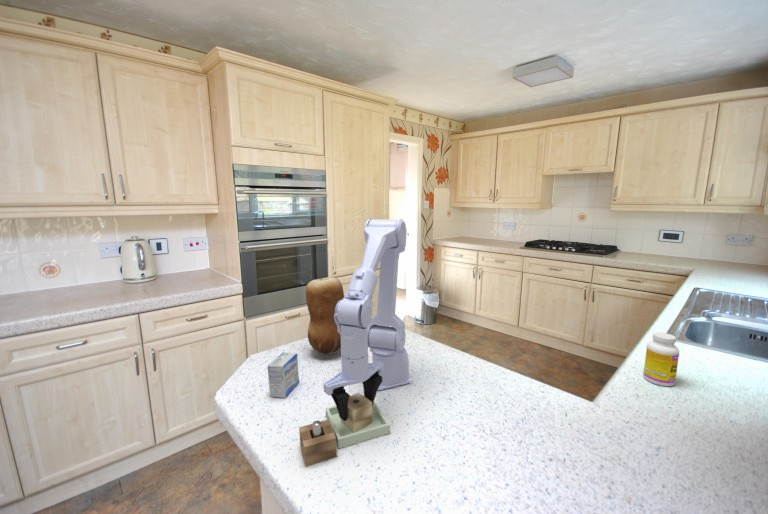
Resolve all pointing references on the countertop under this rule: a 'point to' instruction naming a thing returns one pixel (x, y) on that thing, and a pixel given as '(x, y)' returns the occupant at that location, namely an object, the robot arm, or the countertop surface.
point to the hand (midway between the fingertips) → (356, 411)
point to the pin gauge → (316, 429)
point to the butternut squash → (324, 314)
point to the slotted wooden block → (317, 443)
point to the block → (358, 412)
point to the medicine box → (283, 374)
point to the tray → (368, 432)
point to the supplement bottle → (661, 360)
